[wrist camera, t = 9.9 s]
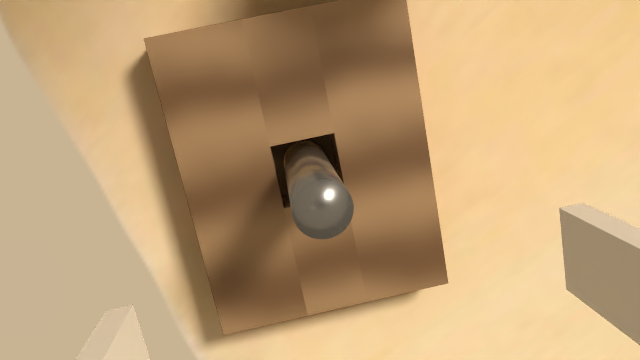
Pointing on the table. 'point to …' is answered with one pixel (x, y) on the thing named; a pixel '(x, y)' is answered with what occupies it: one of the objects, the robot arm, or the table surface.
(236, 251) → the hole board
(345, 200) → the pin
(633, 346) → the table surface
